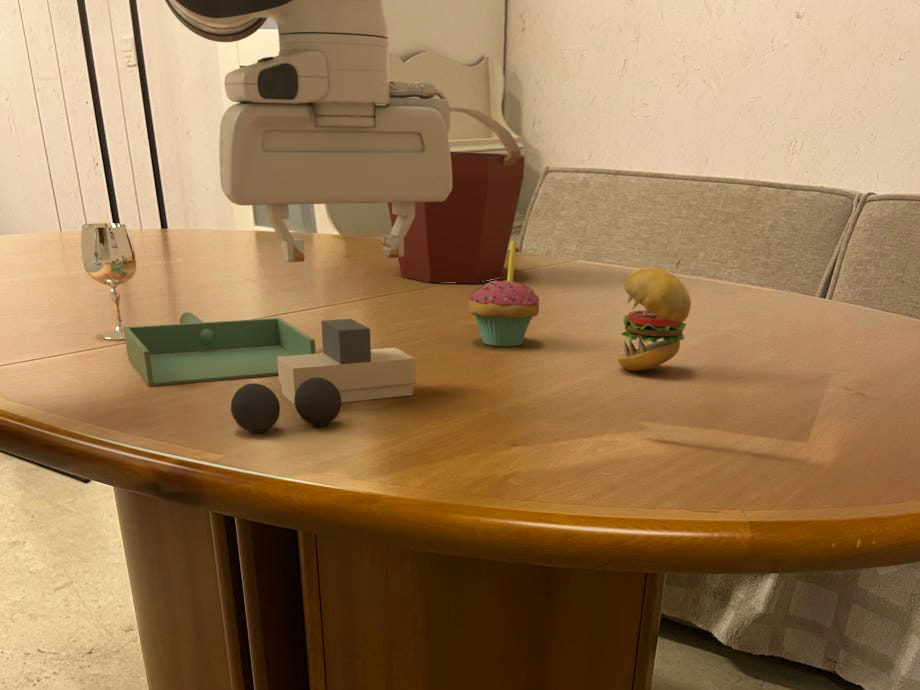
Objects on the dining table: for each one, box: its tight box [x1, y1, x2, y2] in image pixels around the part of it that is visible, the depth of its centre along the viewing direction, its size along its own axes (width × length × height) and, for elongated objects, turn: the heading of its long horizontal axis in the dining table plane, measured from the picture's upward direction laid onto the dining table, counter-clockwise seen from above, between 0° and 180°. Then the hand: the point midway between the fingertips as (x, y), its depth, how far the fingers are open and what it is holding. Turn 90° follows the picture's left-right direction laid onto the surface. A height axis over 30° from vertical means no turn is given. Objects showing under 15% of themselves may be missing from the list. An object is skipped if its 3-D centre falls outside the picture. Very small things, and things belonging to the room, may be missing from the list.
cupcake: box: [468, 233, 540, 348], centre depth 109 cm, size 9×8×12 cm
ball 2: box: [294, 378, 342, 426], centre depth 80 cm, size 4×4×4 cm
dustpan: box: [123, 311, 317, 387], centre depth 101 cm, size 22×17×3 cm
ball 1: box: [230, 382, 281, 433], centre depth 77 cm, size 4×4×4 cm
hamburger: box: [617, 254, 692, 372], centre depth 98 cm, size 8×7×12 cm
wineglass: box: [80, 222, 137, 341], centre depth 106 cm, size 6×6×12 cm
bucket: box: [387, 107, 525, 283], centre depth 152 cm, size 24×22×25 cm
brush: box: [277, 318, 416, 406], centre depth 88 cm, size 5×12×7 cm, turn 117°
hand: (344, 259), depth 83 cm, fingers open, 8 cm apart
